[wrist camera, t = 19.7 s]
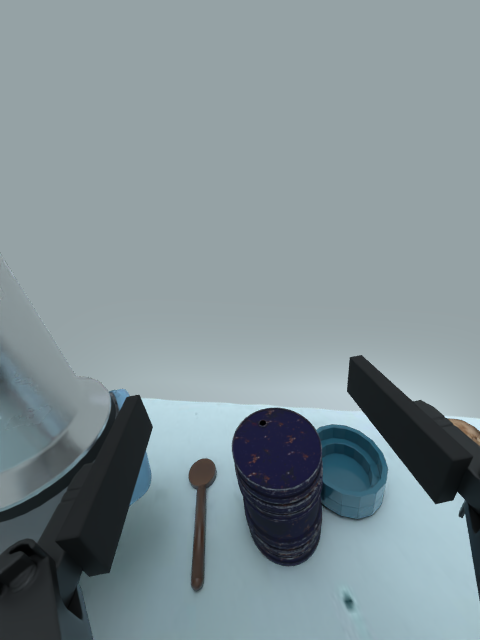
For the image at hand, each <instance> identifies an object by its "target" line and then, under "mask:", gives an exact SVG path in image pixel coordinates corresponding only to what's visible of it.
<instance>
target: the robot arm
mask: <svg viewBox="0 0 480 640" xmlns="http://www.w3.org/2000/svg"><path fill="white" fill-rule="evenodd" d="M347 392H348V393H349V394H350V396H351V397H352V398H353V399H354V401H355V402H356V403H357V405H358V406H359V407H360V408H361V410H362V411H363V412H364V413H365V415H366V416H367V417H368V419H369V420H370V421H371V422H372V424H373V425H374V426H375V427H376V429H377V430H378V431H379V433H380V434H381V435H382V436H383V438H384V439H385V440H386V442H387V443H388V444H389V445H390V447H391V448H392V449H393V450H394V452H395V453H396V454H397V456H398V457H399V458H400V459H401V461H402V462H403V463H404V464H405V466H406V467H407V468H408V470H409V471H410V472H411V473H412V475H413V476H414V477H415V479H416V480H417V481H418V482H419V484H420V485H421V486H422V487H423V489H424V490H425V491H426V493H427V494H428V495H429V496H430V498H431V499H432V500H433V501H434V503H435V504H438V503H443V502H448V501H452V500H454V498H455V495H456V493H457V492H458V493H459V494H460V495H461V496H462V497H463V498H464V499H465V501H464V503H463V505H462V507H461V509H460V511H459V517H461V518H463V516H464V514H465V515H466V521H467V527H468V533H469V539H470V545H471V551H472V557H473V563H474V569H475V575H476V581H477V587H478V593H479V599H480V446H479V445H478V444H477V443H476V442H474V441H473V440H472V439H471V438H470V437H468V436H467V435H466V434H465V433H464V432H463V431H461V430H460V429H459V428H458V427H457V426H454V425H453V423H452V422H451V421H450V420H448V419H447V418H445V417H444V415H442V414H441V413H440V412H439V411H438V410H437V409H435V408H434V407H433V406H431V405H429V404H427V403H425V402H423V401H421V400H419V401H412V400H411V399H409V398H408V397H407V396H406V395H405V394H404V393H403V392H402V391H401V390H400V389H398V388H397V387H396V386H395V385H394V384H393V383H392V382H391V381H389V380H388V379H387V378H386V377H385V376H384V375H383V374H382V373H381V372H380V371H378V370H377V369H376V368H375V367H374V366H373V365H372V364H371V363H370V362H369V361H368V360H366V359H365V358H364V357H363V356H362V355H360V356H354V357H350V362H349V374H348V387H347ZM152 428H153V426H152V424H151V421H150V419H149V417H148V414H147V412H146V409H145V407H144V405H143V402H142V400H141V397H140V395H135V396H129V394H128V392H127V391H126V390H125V389H119V390H112V391H109V392H108V390H107V389H106V387H105V386H104V385H103V384H102V383H101V382H99V381H98V380H95V379H92V378H89V377H81V376H76V375H75V373H74V371H73V370H72V368H71V367H70V365H69V363H68V362H67V360H66V359H65V357H64V355H63V354H62V352H61V351H60V349H59V347H58V346H57V344H56V342H55V341H54V339H53V337H52V336H51V334H50V333H49V331H48V329H47V328H46V326H45V325H44V323H43V321H42V320H41V318H40V317H39V315H38V313H37V312H36V310H35V308H34V307H33V305H32V303H31V302H30V301H29V299H28V297H27V295H26V294H25V292H24V291H23V289H22V287H21V286H20V284H19V283H18V281H17V279H16V278H15V276H14V274H13V273H12V271H11V270H10V268H9V266H8V265H7V263H6V261H5V260H4V258H3V257H2V255H1V253H0V640H93V636H92V632H91V628H90V624H89V620H88V616H87V611H86V607H85V603H84V599H83V595H82V591H81V587H80V585H79V584H78V582H79V579H80V576H81V574H82V571H84V572H85V573H86V574H87V575H88V576H89V577H90V576H95V575H100V574H105V573H109V572H110V569H111V566H112V562H113V559H114V556H115V552H116V549H117V546H118V542H119V539H120V536H121V532H122V529H123V525H124V522H125V519H126V515H127V512H128V509H129V506H130V505H131V504H133V503H134V502H135V501H137V500H138V499H139V498H141V497H142V496H143V495H144V494H145V493H146V492H147V490H148V488H149V486H150V483H151V470H150V465H149V461H148V457H147V453H146V448H147V445H148V441H149V438H150V435H151V431H152Z"/></svg>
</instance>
